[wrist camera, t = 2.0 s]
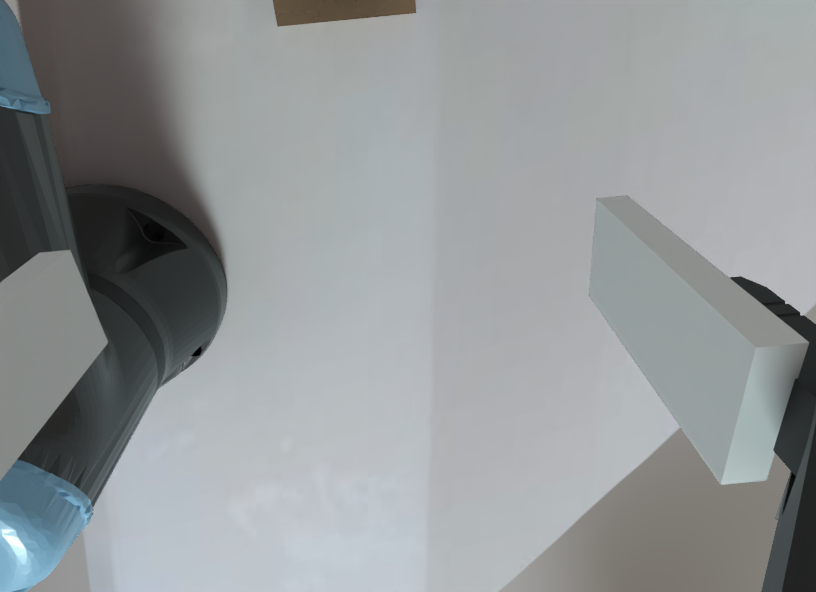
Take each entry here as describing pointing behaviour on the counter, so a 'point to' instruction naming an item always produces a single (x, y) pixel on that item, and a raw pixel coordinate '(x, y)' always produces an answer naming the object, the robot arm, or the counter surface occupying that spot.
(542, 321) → the counter surface
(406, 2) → the mounted unit
